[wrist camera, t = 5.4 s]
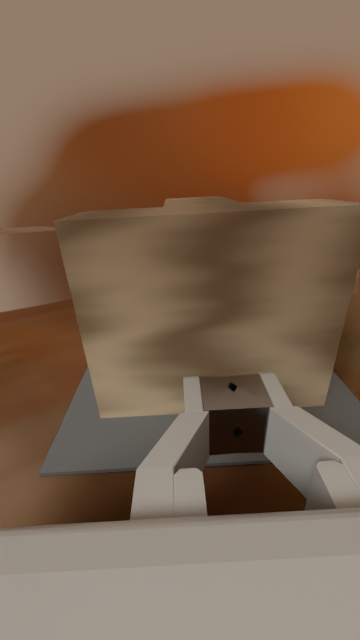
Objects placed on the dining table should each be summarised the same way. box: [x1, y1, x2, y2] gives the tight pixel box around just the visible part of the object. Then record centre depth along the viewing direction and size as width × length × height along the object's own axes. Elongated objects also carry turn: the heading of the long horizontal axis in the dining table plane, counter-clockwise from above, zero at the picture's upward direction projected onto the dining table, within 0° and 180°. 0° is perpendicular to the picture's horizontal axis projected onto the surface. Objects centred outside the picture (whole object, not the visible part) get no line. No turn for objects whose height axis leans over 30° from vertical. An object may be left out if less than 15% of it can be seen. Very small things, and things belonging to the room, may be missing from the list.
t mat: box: [39, 367, 360, 476], centre depth 24 cm, size 16×27×1 cm, turn 2°
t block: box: [54, 196, 360, 418], centre depth 18 cm, size 12×12×10 cm
